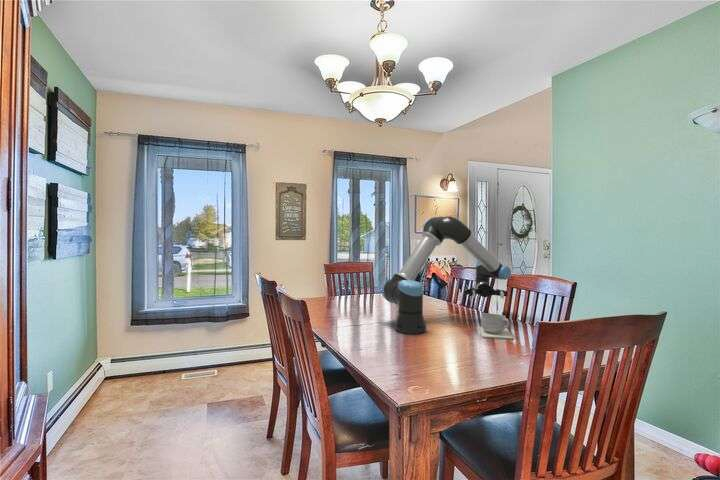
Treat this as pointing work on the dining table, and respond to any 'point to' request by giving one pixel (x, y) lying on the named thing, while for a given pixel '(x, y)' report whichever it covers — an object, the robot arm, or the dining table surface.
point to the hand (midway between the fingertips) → (488, 295)
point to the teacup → (494, 322)
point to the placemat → (496, 334)
